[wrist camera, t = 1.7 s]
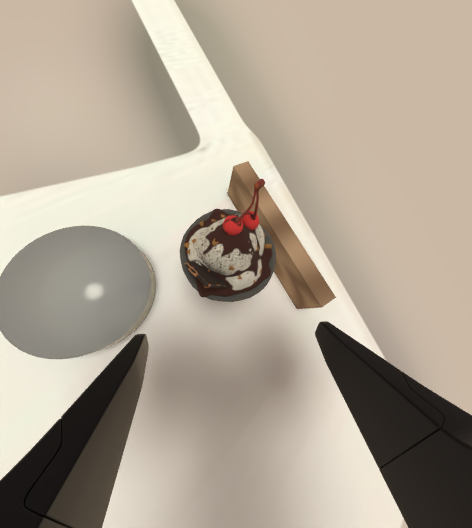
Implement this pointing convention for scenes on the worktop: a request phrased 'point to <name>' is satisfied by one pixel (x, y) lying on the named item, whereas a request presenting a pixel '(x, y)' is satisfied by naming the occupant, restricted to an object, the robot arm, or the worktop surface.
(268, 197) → the brown wooden plank
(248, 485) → the worktop surface
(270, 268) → the sundae
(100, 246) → the slate plinth
